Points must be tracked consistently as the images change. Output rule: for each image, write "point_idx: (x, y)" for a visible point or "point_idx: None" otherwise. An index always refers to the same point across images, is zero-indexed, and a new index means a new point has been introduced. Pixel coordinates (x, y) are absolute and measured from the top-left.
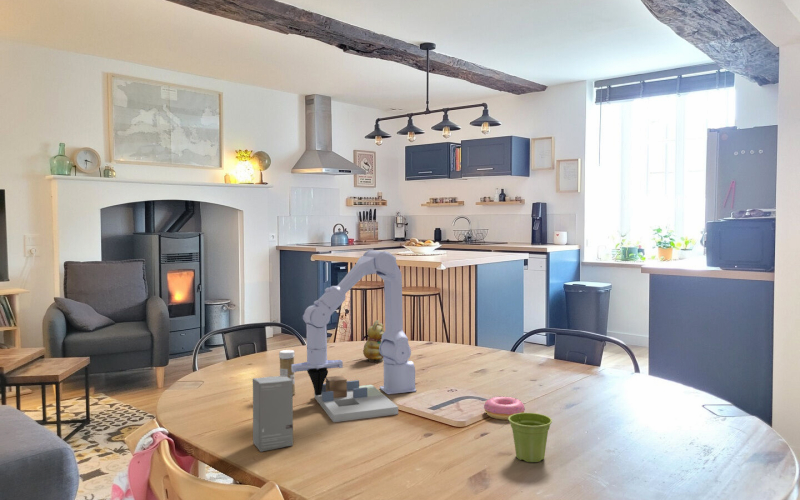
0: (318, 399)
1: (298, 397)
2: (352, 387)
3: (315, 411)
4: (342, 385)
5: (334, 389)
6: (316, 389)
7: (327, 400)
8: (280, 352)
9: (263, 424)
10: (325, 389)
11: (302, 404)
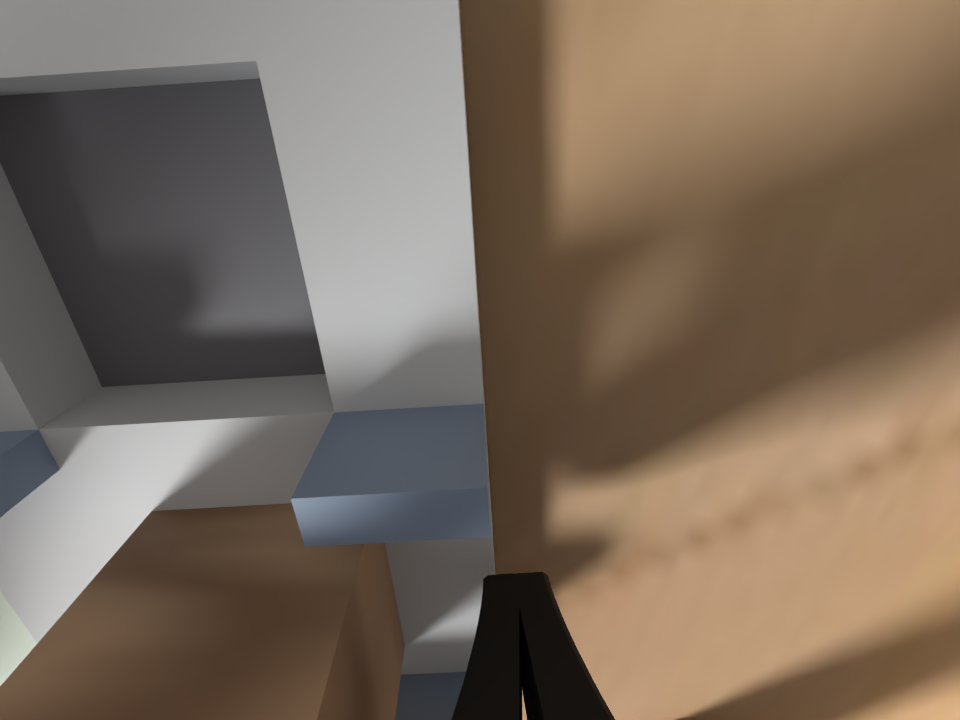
0: None
1: (626, 695)
2: None
3: (588, 297)
4: (96, 662)
5: (270, 603)
6: (560, 642)
7: (419, 414)
8: None
9: None
10: (400, 713)
11: (651, 545)
